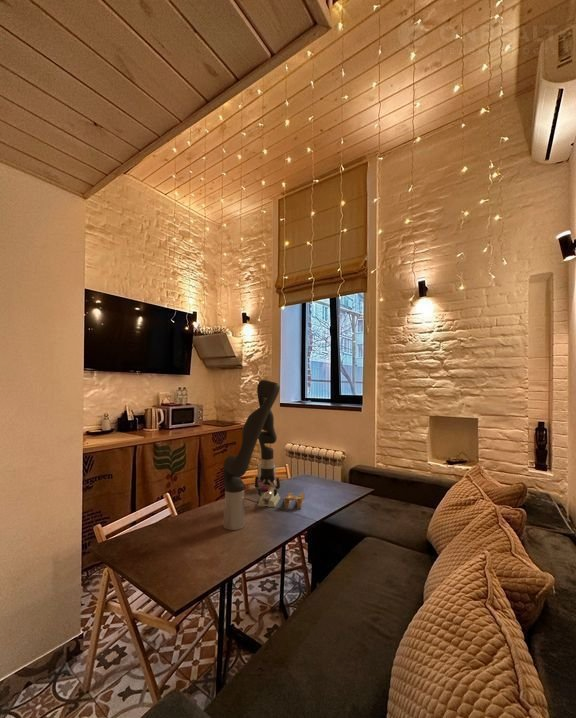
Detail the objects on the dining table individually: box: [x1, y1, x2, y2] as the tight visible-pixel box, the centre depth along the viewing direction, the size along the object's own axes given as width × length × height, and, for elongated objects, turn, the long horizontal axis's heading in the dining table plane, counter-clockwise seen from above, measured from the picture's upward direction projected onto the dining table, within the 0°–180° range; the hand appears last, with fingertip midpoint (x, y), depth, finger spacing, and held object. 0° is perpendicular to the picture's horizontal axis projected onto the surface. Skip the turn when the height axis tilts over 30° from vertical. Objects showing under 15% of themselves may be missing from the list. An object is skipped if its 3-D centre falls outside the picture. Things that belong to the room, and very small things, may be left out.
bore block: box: [283, 492, 305, 510], centre depth 188 cm, size 9×16×6 cm, turn 170°
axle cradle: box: [257, 491, 281, 508], centre depth 190 cm, size 10×14×3 cm
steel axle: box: [262, 487, 274, 502], centre depth 190 cm, size 14×4×4 cm, turn 170°
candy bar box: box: [257, 462, 277, 491], centre depth 214 cm, size 11×5×16 cm, turn 73°
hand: (267, 495), depth 186 cm, fingers open, 8 cm apart
